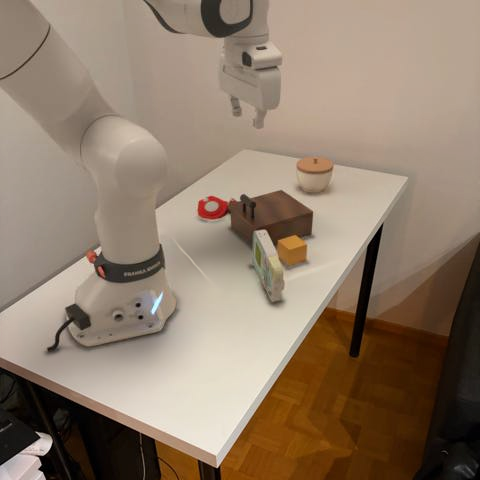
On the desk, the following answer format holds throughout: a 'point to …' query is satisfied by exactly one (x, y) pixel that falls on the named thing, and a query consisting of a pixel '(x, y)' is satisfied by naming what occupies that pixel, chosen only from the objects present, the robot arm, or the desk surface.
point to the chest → (275, 228)
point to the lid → (269, 209)
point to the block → (292, 250)
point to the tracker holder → (213, 207)
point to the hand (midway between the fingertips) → (247, 121)
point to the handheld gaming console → (267, 264)
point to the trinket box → (314, 173)
